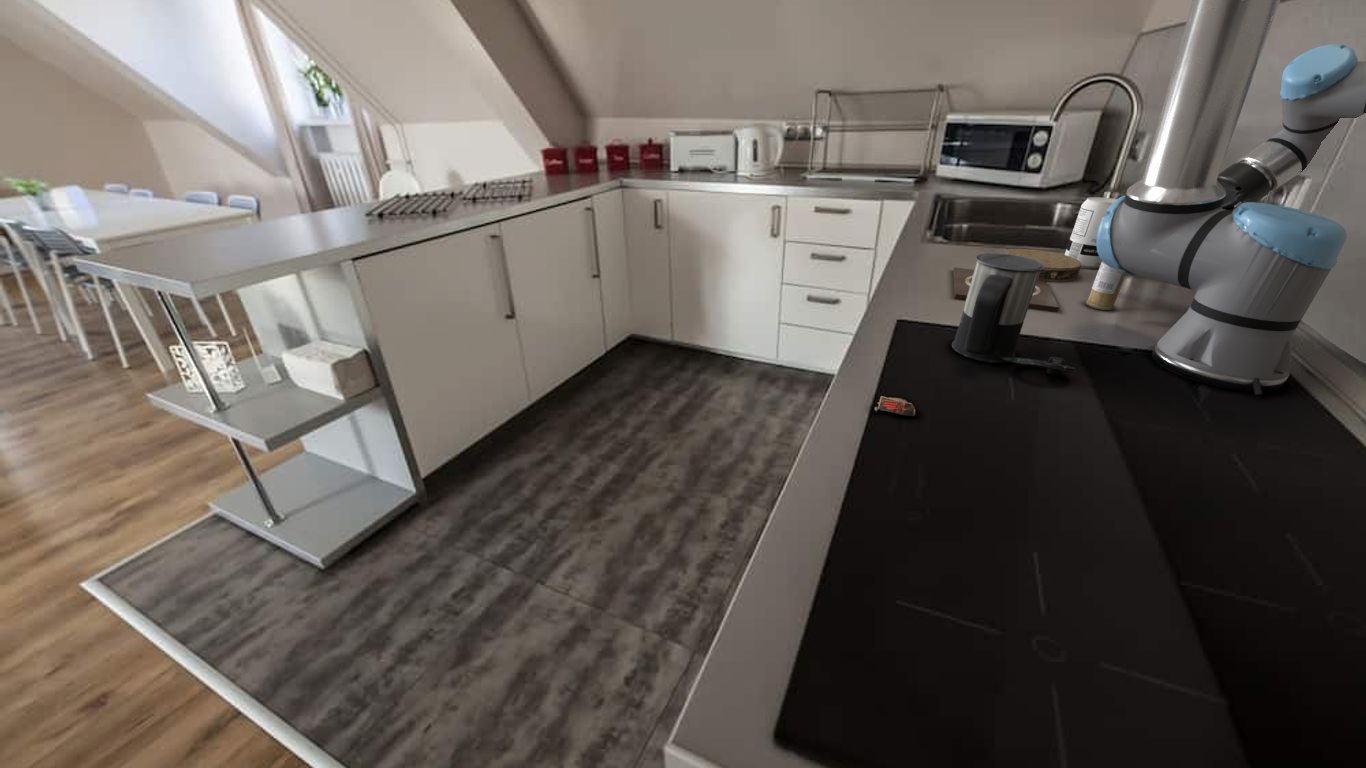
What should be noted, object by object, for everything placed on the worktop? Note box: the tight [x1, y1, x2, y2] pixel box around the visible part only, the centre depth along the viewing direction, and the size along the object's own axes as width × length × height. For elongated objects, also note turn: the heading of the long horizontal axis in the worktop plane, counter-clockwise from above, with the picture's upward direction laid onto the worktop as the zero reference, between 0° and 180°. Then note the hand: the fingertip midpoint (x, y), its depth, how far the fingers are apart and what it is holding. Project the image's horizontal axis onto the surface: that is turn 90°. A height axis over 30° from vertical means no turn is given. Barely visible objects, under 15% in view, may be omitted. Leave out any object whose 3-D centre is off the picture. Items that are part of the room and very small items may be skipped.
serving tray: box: [952, 267, 1060, 313], centre depth 116 cm, size 20×18×1 cm
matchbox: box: [874, 395, 916, 417], centre depth 73 cm, size 5×5×1 cm
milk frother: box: [951, 252, 1076, 376], centre depth 83 cm, size 14×16×15 cm
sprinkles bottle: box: [1085, 261, 1127, 311], centre depth 105 cm, size 5×5×14 cm
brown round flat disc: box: [1001, 248, 1081, 283], centre depth 128 cm, size 16×16×3 cm
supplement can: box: [1064, 196, 1118, 269], centre depth 131 cm, size 8×8×15 cm
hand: (1129, 260), depth 104 cm, fingers open, 13 cm apart
